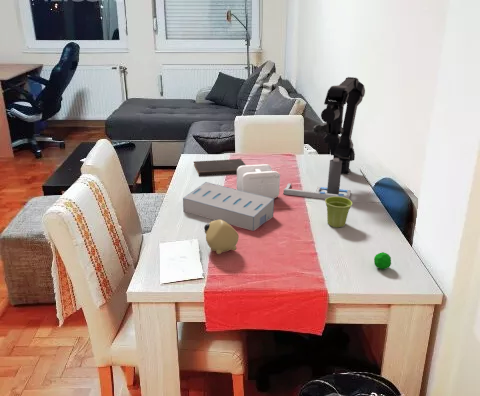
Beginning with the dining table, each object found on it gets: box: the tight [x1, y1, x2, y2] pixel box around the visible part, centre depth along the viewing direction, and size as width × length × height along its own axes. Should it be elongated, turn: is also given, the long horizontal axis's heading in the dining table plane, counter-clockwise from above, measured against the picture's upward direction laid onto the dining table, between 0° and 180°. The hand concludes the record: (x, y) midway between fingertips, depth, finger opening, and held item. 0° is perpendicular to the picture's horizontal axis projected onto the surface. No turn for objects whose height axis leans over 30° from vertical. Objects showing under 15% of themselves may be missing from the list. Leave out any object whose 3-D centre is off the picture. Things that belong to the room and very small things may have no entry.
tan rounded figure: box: [204, 219, 239, 255], centre depth 155 cm, size 10×12×11 cm
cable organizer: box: [236, 163, 281, 199], centre depth 198 cm, size 15×11×12 cm
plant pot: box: [324, 197, 353, 228], centre depth 175 cm, size 9×9×9 cm
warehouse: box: [182, 181, 275, 232], centre depth 182 cm, size 30×14×8 cm, turn 58°
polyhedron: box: [373, 251, 392, 270], centre depth 148 cm, size 5×5×5 cm
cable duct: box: [283, 182, 351, 200], centre depth 204 cm, size 12×26×2 cm, turn 74°
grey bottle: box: [326, 157, 342, 195], centre depth 201 cm, size 5×5×15 cm
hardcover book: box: [193, 158, 246, 177], centre depth 230 cm, size 16×23×2 cm
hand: (332, 154), depth 210 cm, fingers closed
